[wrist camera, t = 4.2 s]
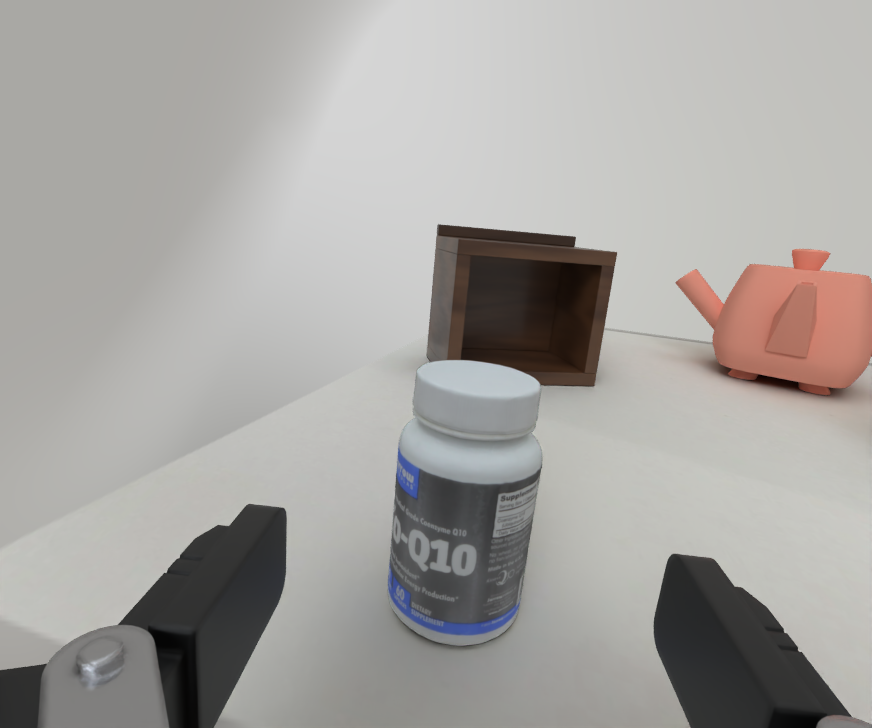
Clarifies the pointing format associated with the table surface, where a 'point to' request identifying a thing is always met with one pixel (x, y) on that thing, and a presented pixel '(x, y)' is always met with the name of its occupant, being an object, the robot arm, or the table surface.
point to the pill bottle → (464, 501)
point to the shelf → (520, 302)
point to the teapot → (790, 322)
